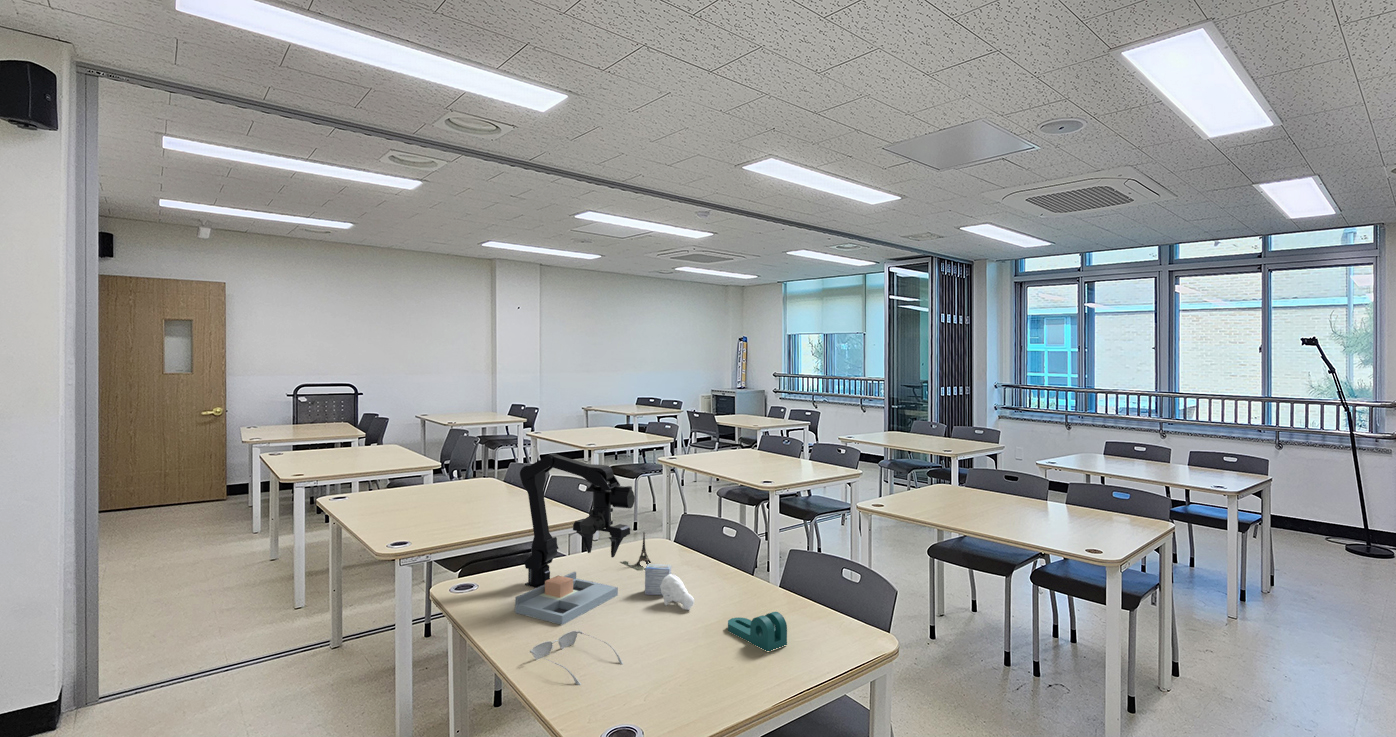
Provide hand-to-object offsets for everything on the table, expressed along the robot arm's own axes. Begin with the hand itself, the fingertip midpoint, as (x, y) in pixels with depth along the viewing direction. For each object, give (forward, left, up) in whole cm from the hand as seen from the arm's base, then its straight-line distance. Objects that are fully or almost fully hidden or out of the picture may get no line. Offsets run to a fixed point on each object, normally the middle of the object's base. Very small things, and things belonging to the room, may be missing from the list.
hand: (600, 555), depth 199 cm
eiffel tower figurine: (-4, +31, -13) cm, 34 cm away
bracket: (+55, -6, -12) cm, 57 cm away
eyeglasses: (+24, -41, -13) cm, 49 cm away
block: (-7, -12, -10) cm, 17 cm away
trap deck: (-3, -12, -12) cm, 17 cm away
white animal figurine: (+27, +3, -12) cm, 30 cm away
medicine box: (+16, +9, -12) cm, 22 cm away
